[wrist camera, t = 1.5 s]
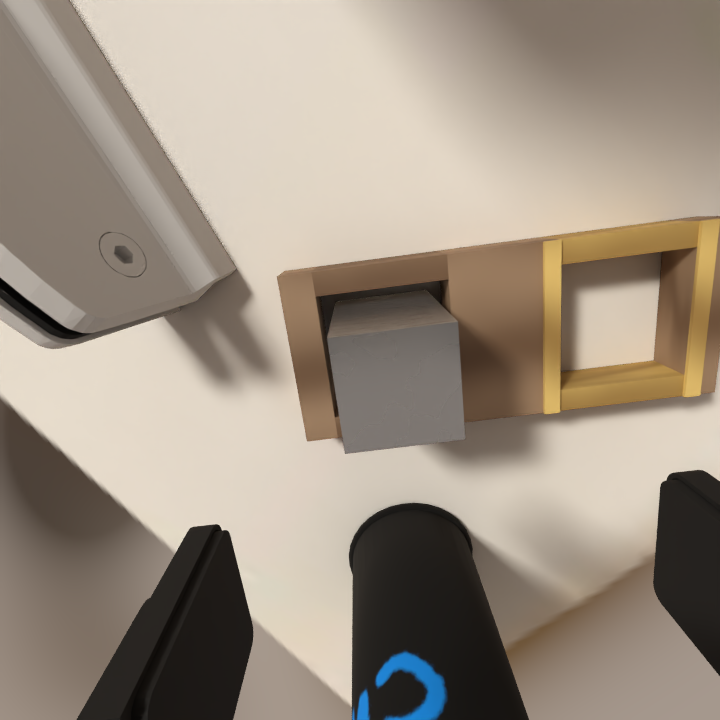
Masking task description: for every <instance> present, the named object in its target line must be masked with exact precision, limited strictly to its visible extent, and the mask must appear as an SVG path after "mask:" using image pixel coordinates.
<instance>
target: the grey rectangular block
mask: <svg viewBox="0 0 720 720" xmlns="http://www.w3.org/2000/svg"><path fill="white" fill-rule="evenodd" d="M327 341H328V348H329V354H330V360H331V367H332V373H333V380H334V386H335V393H336V399H337V405H338V412H339V418H340V425H341V431H342V437H343V444H344V450H345V454H348V453H356V452H364V451H373V450H381V449H390V448H398V447H406V446H415V445H423V444H431V443H440V442H448V441H457V440H465V427H464V411H463V395H462V379H461V363H460V347H459V331H458V321H457V320H456V319H455V318H454V317H453V316H452V315H451V314H450V313H449V312H448V311H447V310H446V309H445V308H444V307H443V306H442V305H441V304H440V303H439V302H438V301H437V300H436V299H435V298H434V297H433V296H432V295H431V294H430V293H429V292H428V291H427V290H420V291H413V292H405V293H397V294H390V295H382V296H374V297H366V298H359V299H351V300H343V301H336V303H335V307H334V311H333V315H332V320H331V324H330V328H329V332H328V336H327Z"/></svg>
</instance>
